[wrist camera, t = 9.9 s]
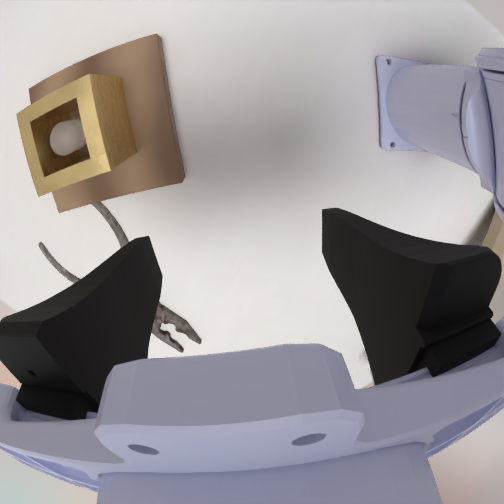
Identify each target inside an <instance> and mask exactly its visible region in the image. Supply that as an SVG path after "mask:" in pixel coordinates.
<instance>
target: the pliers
mask: <svg viewBox="0 0 504 504" xmlns="http://www.w3.org/2000/svg"><path fill="white" fill-rule="evenodd" d="M92 205H93V206H94V207H95V208H96V209H97V210H98V211H99V212H100V213H101V214H102V215H103V217H104V218H105V219H106V221H107V222H108V223H109V225H110V226H111V228H112V229H113V231H114V233H115V235H116V237H117V239H118V241H119V243H120V246H121V248H122V247H123V246H125V245H126V244H127V243H129V242H128V239H127V237H126V235H125V233H124V232H123V230H122V228H121V226H120V225H119V224H118V222H117V221H116V219H115V218H114V217H113V215H112V214H111V213H110V212H109V211H108V209H107V208H106V207H105V206H104V205H103V204H102V203H101V202H100V201H99V202H96V203H92ZM39 247H40V249H41V251H42V252H43V254H44V255H45V257H46V258H47V259H48V260H49V262H50V263H51V264H52V265H53V266H54V267H55V268H56V269H57V270H58V271H59V272H60V273H61V274H62V275H63V276H65V277H66V278H67V279H68V280H70V281H71V282H73V283H76V282H77V281H79V280H81V279H79V278H77V277H76V276H74V275H72V274H71V273H69V272H68V271H67V270H66V269H64V268H63V267H62V266H61V265H60V264H59V263H58V262H57V261H56V260H55V259H54V258H53V257H52V256H51V254H50V253H49V252H48V250H47V249H46V247H45V246H44V245H43V243H41V242H40V243H39ZM161 305H162V304H161V303H160V302H159V303H158V307H157V311H156V315H155V319H154V323H153V327H152V331H151V333H153V334H154V335H155V336H156V337H157V338H159V339H160V340H162V341H163V342H165V343H167V344H168V345H170V346H171V347H173V348H175V349H176V350H178V351H180V352H181V353H182V352H183V348H182V346H181V345H180V344H179V343H178V342H177V341H175V340H173V339H172V338H171V337H170V333H169V332H168V331H163V330H161V329H160V327H161V323H164V324H168V323H170V324H174V325H175V327H176V331H177V332H181V333H184V334H186V335H187V336H188V338H189V339H191V340H193V341H195V342H197V343H198V344H201V339H200V338H199V336H198V335H197V334H196V332H195V331H194V330H193V329H192V327H191V326H190V325H189V323H188V322H187V321H186V320H185V319H183V318H182V317H180V316H178V315H177V314H175V313H174V312H172V311H171V310H169V309H168V308H166V307H165V306H163V305H162V306H161Z"/></svg>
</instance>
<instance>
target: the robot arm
mask: <svg viewBox="0 0 504 504" xmlns="http://www.w3.org/2000/svg"><path fill="white" fill-rule="evenodd" d="M386 60H388V61H389V64H387V63H386ZM476 61H477V64H478V66H464V65H430V64H426V63H421V62H417V61H412V60H407V59H402V58H396V57H391V56H384V55H380V56H377V58H376V66H377V76H378V88H379V105H380V142H381V147H382V149H384V150H386V151H429V152H431V153H434V154H436V155H439V156H441V157H443V158H446V159H448V160H450V161H452V162H454V163H457V164H459V165H461V166H463V167H465V168H467V169H469V170H471V171H473V172H475V173H477V174H479V176H480V180H481V187H483V188H485V189H486V190H488V191H490V192H492V193H493V194H494V206H495V210H496V212H497V214H498V215H499V217H500V218H501V219H502V220H503V222H504V48H482V49H481V51H480V53H479V55H477V56H476ZM391 142H393V146H392V147H390V143H391ZM322 253H323V256H324V258H325V261H326V264H327V266H328V269H329V271H330V273H331V275H332V277H333V278H334V280H335V282H336V284H337V286H338V288H339V289H340V291H341V293H342V295H343V297H344V298H345V300H346V302H347V304H348V306H349V308H350V310H351V312H352V314H353V316H354V319H355V321H356V324H357V327H358V330H359V332H360V335H361V338H362V341H363V344H364V347H365V350H366V354H367V357H368V361H369V364H370V368H371V372H372V375H373V380H374V384H375V386H373V387H370V388H364V389H355V388H354V385H353V382H352V380H351V377H350V374H349V372H348V369H347V366H346V364H345V361H344V358H343V356H342V354H341V353H339V352H337V351H335V350H332V349H330V348H328V347H326V346H324V345H321V344H316V343H313V344H282V345H276V346H270V347H263V348H257V349H249V350H242V351H234V352H226V353H217V354H207V355H197V356H185V357H171V358H153V359H147V358H148V347H149V341H150V336H151V331H152V327H153V323H154V319H155V315H156V311H157V307H158V303H159V299H160V295H161V287H162V273H161V270H160V267H159V265H158V262H157V259H156V256H155V253H154V250H153V247H152V244H151V241H150V238H149V236H146V237H140V238H136V239H134V240H132V241H130V242H129V243H127V244H126V245H125V246H123V247H122V248H121V249H119V250H118V251H117V252H116V253H114V254H113V255H112V256H111V257H109V258H108V259H107V260H106V261H104V262H103V263H102V264H101V265H99V266H98V267H97V268H95V269H94V270H93V271H91V272H90V273H89V274H88V275H86V276H85V277H83V278H82V279H81V280H79V281H77V282H76V283H74V284H73V285H71V286H70V287H68V288H67V289H65V290H63V291H61V292H60V293H58V294H56V295H54V296H53V297H51V298H49V299H47V300H45V301H43V302H41V303H39V304H37V305H35V306H32V307H30V308H28V309H25V310H23V311H20V312H17V313H15V314H12V315H9V316H6V317H4V318H3V319H2V320H1V321H0V360H1V362H2V363H3V364H4V365H5V366H6V367H7V368H8V370H9V371H10V372H11V373H12V374H13V375H14V376H15V377H16V378H17V379H18V380H19V382H20V383H22V385H21V388H20V390H18V389H17V388H15V387H13V386H10V385H5V384H2V383H0V449H1V450H3V451H4V452H6V453H7V454H9V455H10V456H12V457H13V458H15V459H16V460H18V461H20V462H22V463H23V464H25V465H27V466H29V467H31V468H34V469H36V470H38V471H41V472H43V473H45V474H47V475H50V476H52V477H55V478H58V479H60V480H63V481H65V482H68V483H70V484H73V485H76V486H79V487H82V488H85V489H88V490H91V491H95V492H98V498H97V504H443V503H442V500H441V497H440V494H439V491H438V488H437V484H436V482H435V478H434V476H433V473H432V470H431V467H430V464H429V462H428V459H427V458H429V457H431V456H433V455H435V454H436V453H438V452H440V451H442V450H443V449H445V448H447V447H449V446H450V445H452V444H453V443H455V442H457V441H458V440H460V439H461V438H463V437H464V436H466V435H468V434H469V433H470V432H472V431H473V430H475V429H476V428H478V427H479V426H481V425H482V424H483V423H485V422H486V421H487V420H489V419H490V418H491V417H493V416H494V415H495V414H497V413H498V412H499V411H500V410H502V409H503V408H504V317H503V318H502V319H500V320H499V321H498V322H497V323H496V324H494V323H493V322H492V320H491V319H490V318H492V316H493V312H492V310H491V309H490V308H489V307H488V306H489V304H490V302H491V300H492V298H493V295H494V293H495V291H496V289H497V286H498V284H499V281H500V278H501V272H502V264H501V259H500V258H499V256H498V255H497V254H496V253H495V252H493V251H492V250H491V249H490V248H488V247H486V246H470V245H457V244H450V243H443V242H437V241H432V240H428V239H423V238H419V237H415V236H411V235H408V234H405V233H401V232H398V231H395V230H392V229H390V228H387V227H384V226H382V225H379V224H377V223H374V222H372V221H369V220H367V219H365V218H362V217H360V216H358V215H355V214H353V213H351V212H348V211H345V210H343V209H339V208H330V209H322Z"/></svg>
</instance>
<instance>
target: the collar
mask: <svg viewBox="0 0 504 504" xmlns="http://www.w3.org/2000/svg"><path fill="white" fill-rule="evenodd" d="M77 109H79V113H80V117H81V122H82V126H83V131H84V135H85V139H86V143H87V147H88V151H89V154H88V155H85V156H82V157H80V154H79V150H76V151H74V152H72V153H69V154H67V155H64V156H61V155H58V154H56V153H55V152H54V151H53V149H52V147H51V144H50V135H51V132H52V130H53V128H54V127H55V126H56V125H57V124H58V123H60V122H64V121H68V120H71V116H70V113H71V112H73V111H75V110H77ZM17 119H18V125H19V129H20V134H21V138H22V143H23V147H24V151H25V155H26V158H27V162H28V166H29V169H30V172H31V176H32V179H33V182H34V185H35V188H36V191H37V194H38V197H40V196H42V195H45V194H47V193H50V192H52V191H55V190H57V189H60V188H62V187H65V186H68V185H70V184H73V183H76V182H79V181H82V180H84V179H87V178H90V177H93V176H96V175H99V174H102V173H105V172H109V171H111V170H113V169H114V168H115V167H117V166H118V165H120V164H121V163H122V162H124V161H125V160H127V159H128V158H130V157H131V156H133V155H134V154H136V153H137V148H136V143H135V139H134V135H133V131H132V126H131V122H130V117H129V112H128V107H127V103H126V97H125V92H124V87H123V81H122V78H120V77H113V76H105V75H96V74H88V75H85V76H83V77H81V78H79V79H77V80H75V81H73V82H71V83H69V84H67V85H65V86H63V87H61V88H59V89H57V90H55V91H53V92H52V93H50V94H48V95H46V96H44V97H43V98H41V99H39V100H38V101H36V102H34V103H33V104H31V105H29V106H28V107H26V108H25V109H23V110H22V111H20V112H19V113H17Z"/></svg>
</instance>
